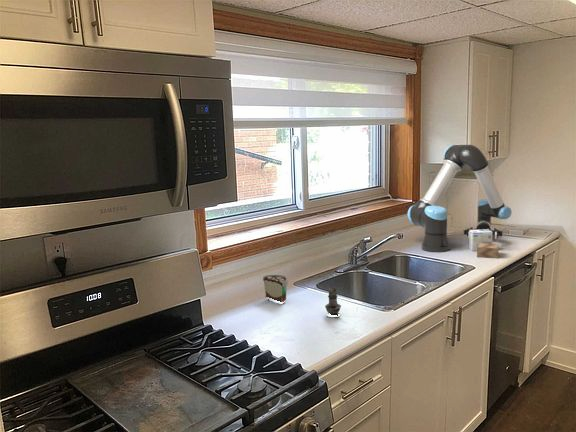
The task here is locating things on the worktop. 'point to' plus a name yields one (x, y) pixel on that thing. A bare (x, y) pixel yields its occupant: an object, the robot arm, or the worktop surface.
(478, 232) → the light bulb box
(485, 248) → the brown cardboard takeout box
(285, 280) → the food container
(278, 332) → the worktop surface
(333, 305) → the dark grey tall piece
